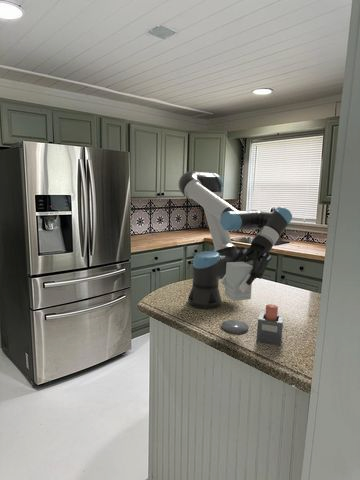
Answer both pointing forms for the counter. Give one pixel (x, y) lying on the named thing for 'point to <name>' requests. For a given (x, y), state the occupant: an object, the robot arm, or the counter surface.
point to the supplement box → (237, 280)
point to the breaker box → (270, 329)
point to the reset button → (271, 312)
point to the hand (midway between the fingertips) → (231, 287)
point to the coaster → (235, 326)
